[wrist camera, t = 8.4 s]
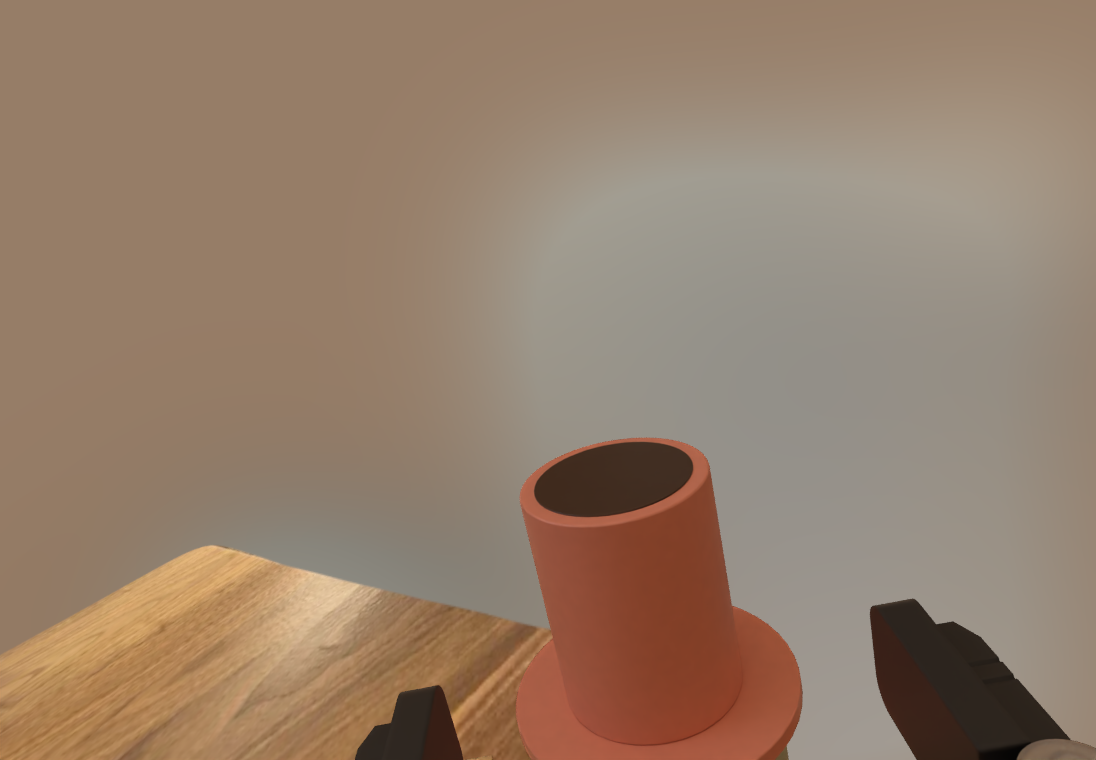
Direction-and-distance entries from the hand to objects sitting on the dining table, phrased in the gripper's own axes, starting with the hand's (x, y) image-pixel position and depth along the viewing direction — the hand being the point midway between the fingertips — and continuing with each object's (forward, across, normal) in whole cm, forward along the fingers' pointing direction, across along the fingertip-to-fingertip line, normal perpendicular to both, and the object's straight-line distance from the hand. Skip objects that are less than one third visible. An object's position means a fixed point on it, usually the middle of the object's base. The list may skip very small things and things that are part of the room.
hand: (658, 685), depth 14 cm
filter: (+11, 0, +11) cm, 16 cm away
